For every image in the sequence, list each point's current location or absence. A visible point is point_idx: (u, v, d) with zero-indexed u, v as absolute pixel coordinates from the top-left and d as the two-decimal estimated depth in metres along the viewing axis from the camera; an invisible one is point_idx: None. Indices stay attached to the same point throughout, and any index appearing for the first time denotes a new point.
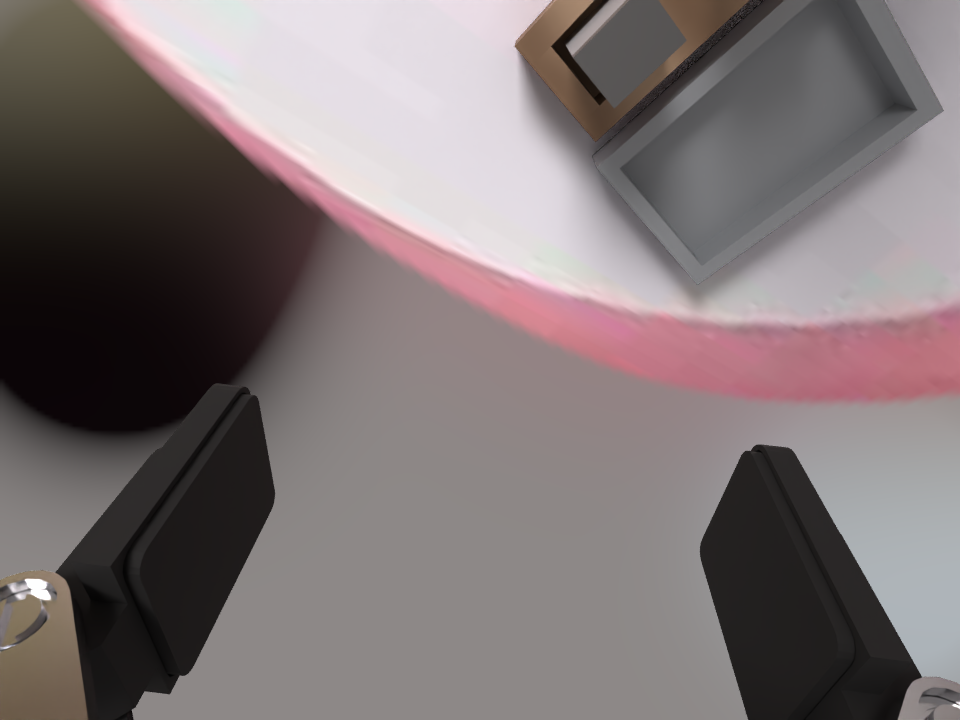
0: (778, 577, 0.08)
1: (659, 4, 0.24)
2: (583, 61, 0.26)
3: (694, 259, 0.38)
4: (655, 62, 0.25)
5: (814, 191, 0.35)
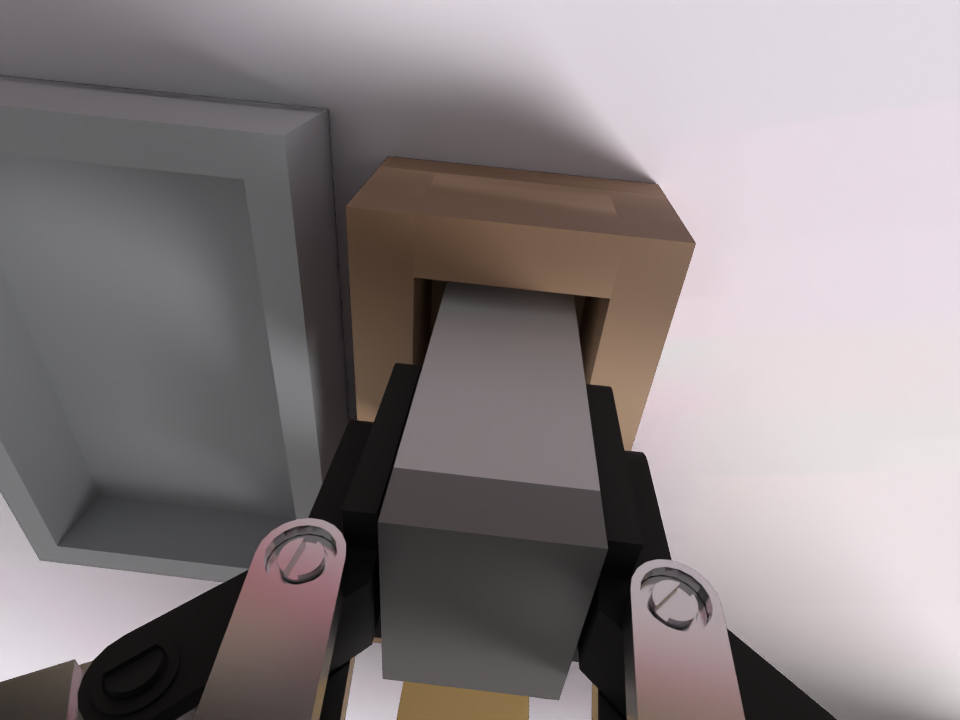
0: None
1: (498, 691, 0.09)
2: (572, 556, 0.07)
3: None
4: (397, 631, 0.09)
5: None
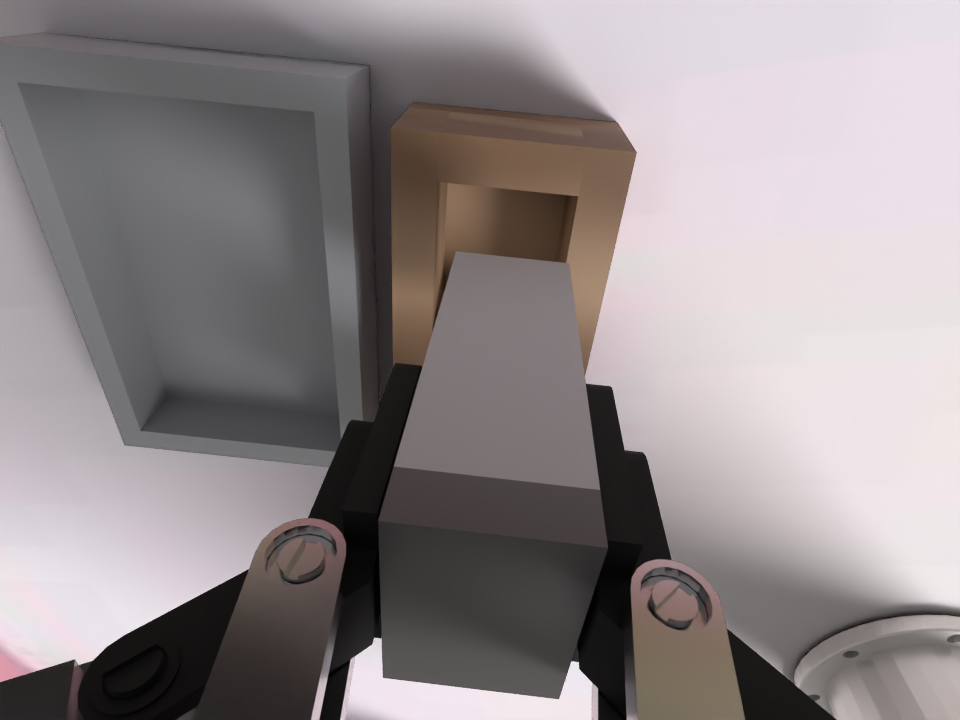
0: None
1: (498, 690, 0.09)
2: (571, 555, 0.07)
3: (40, 81, 0.17)
4: (397, 630, 0.09)
5: (86, 306, 0.21)
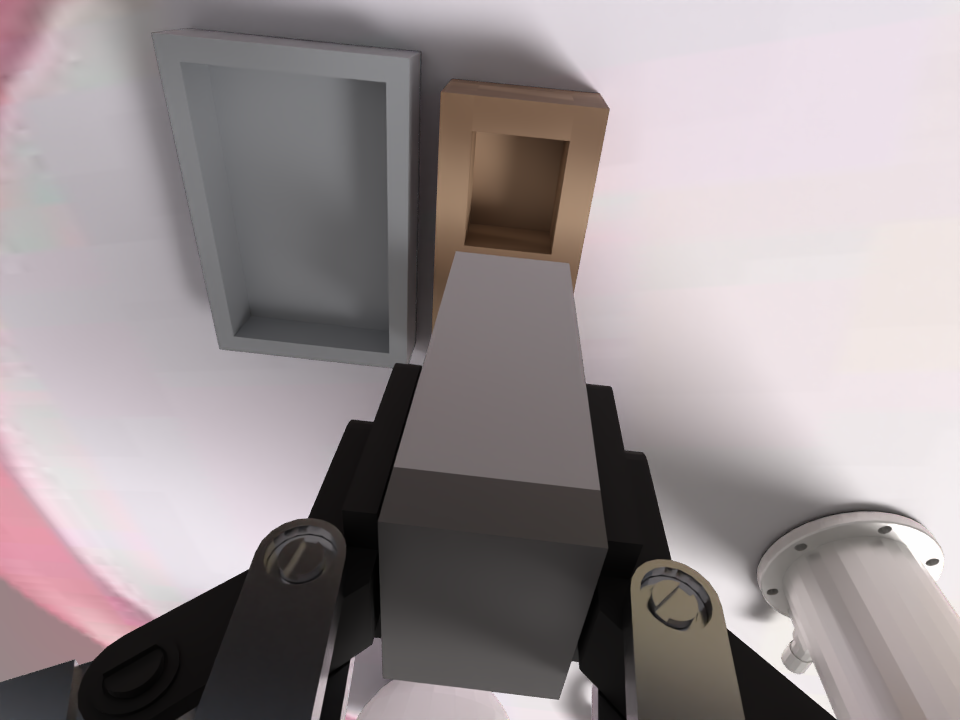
0: None
1: (498, 690, 0.09)
2: (572, 555, 0.07)
3: (196, 61, 0.24)
4: (397, 631, 0.09)
5: (205, 231, 0.28)
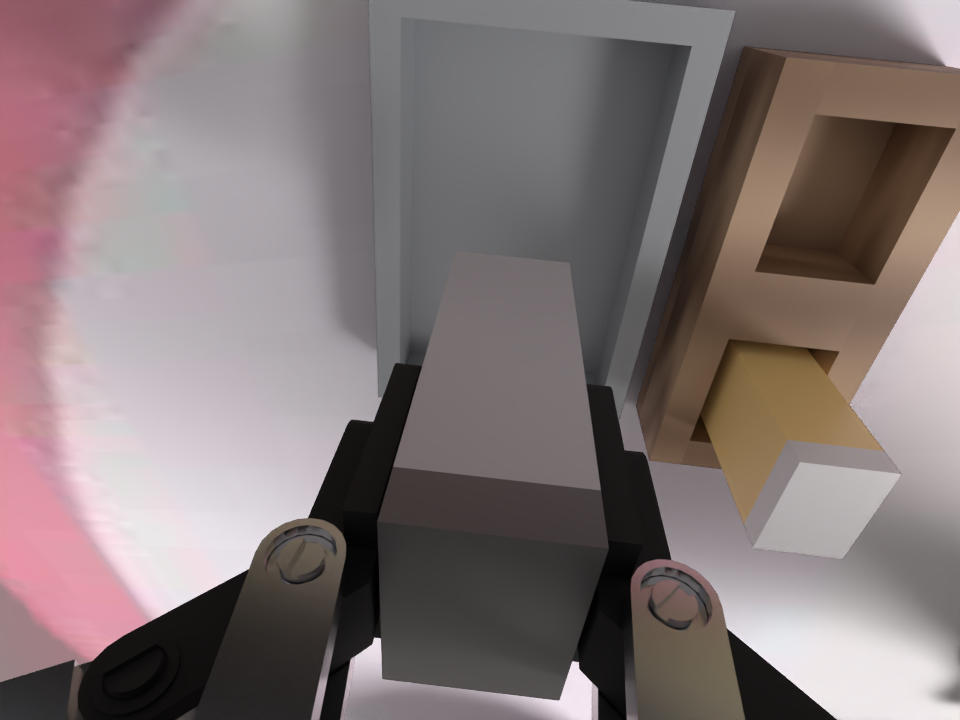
0: None
1: (498, 691, 0.09)
2: (572, 556, 0.07)
3: (424, 16, 0.17)
4: (397, 631, 0.09)
5: (390, 249, 0.22)
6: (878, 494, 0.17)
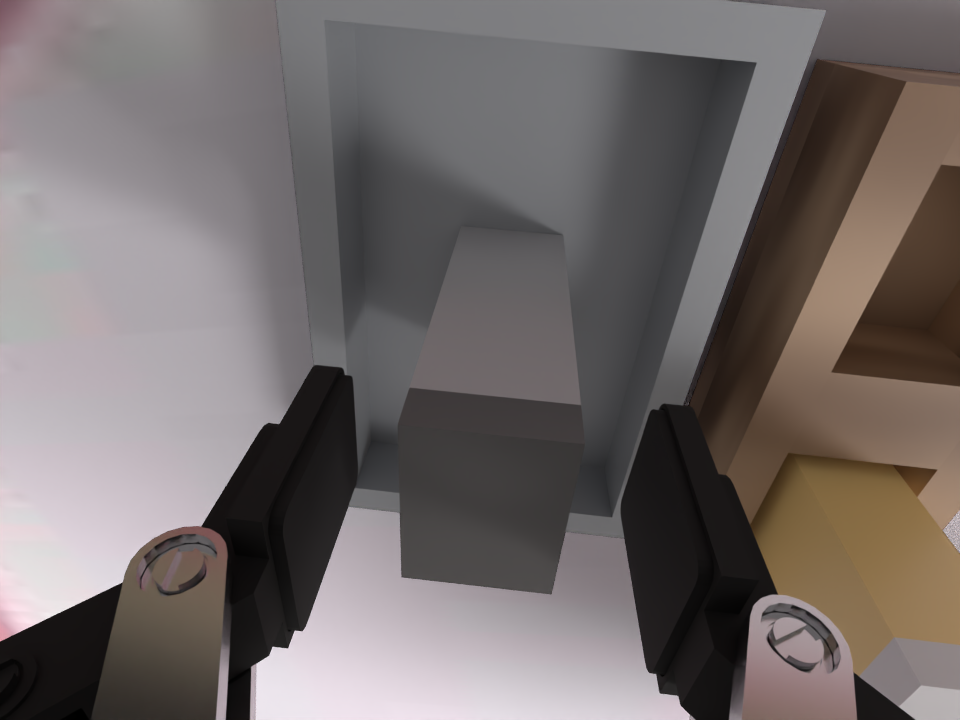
0: (666, 518, 0.09)
1: (499, 586, 0.11)
2: (555, 452, 0.09)
3: (358, 18, 0.12)
4: (413, 529, 0.10)
5: (331, 333, 0.16)
6: None
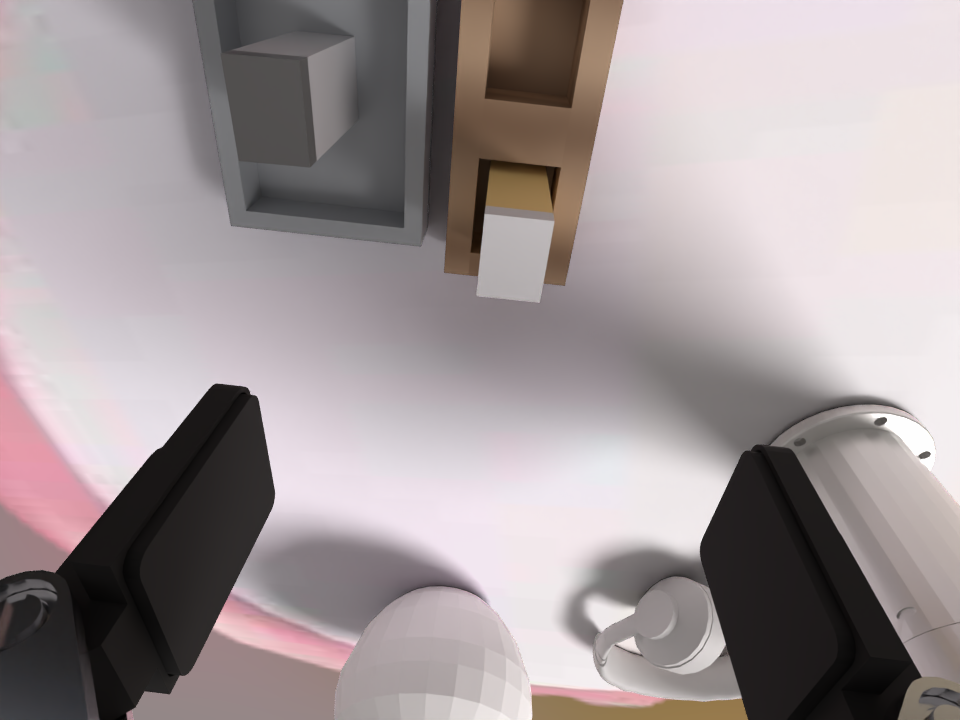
0: (778, 577, 0.08)
1: (285, 163, 0.23)
2: (289, 66, 0.21)
3: None
4: (238, 124, 0.23)
5: (219, 89, 0.28)
6: (544, 240, 0.24)
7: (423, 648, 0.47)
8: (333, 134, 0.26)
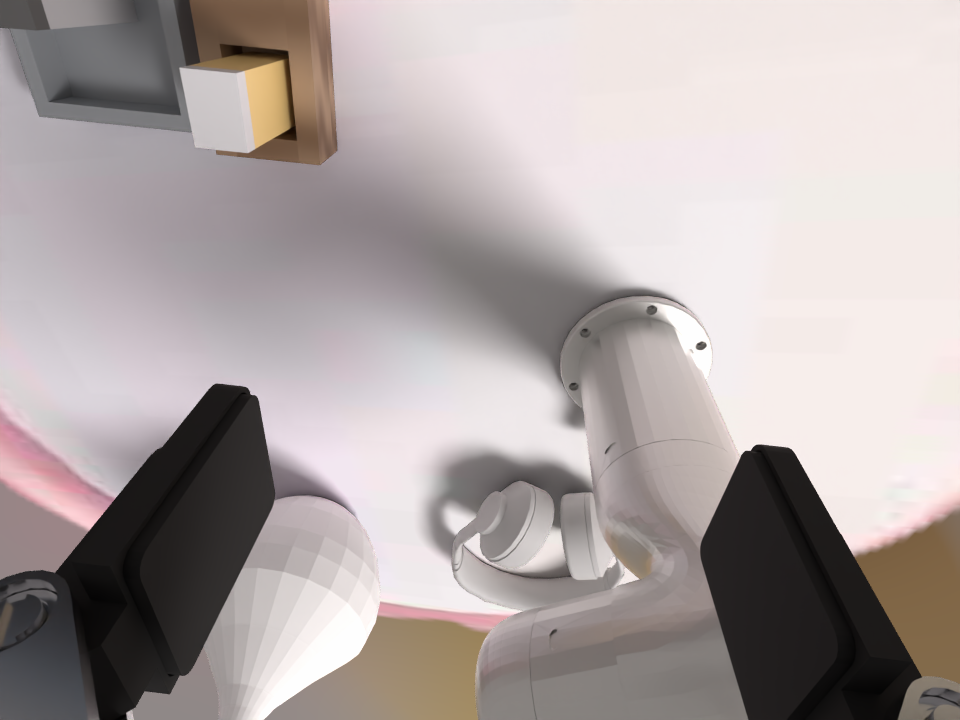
0: (778, 577, 0.08)
1: (16, 27, 0.29)
2: None
3: None
4: None
5: None
6: (233, 91, 0.29)
7: (264, 533, 0.52)
8: (84, 18, 0.32)
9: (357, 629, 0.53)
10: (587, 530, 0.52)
